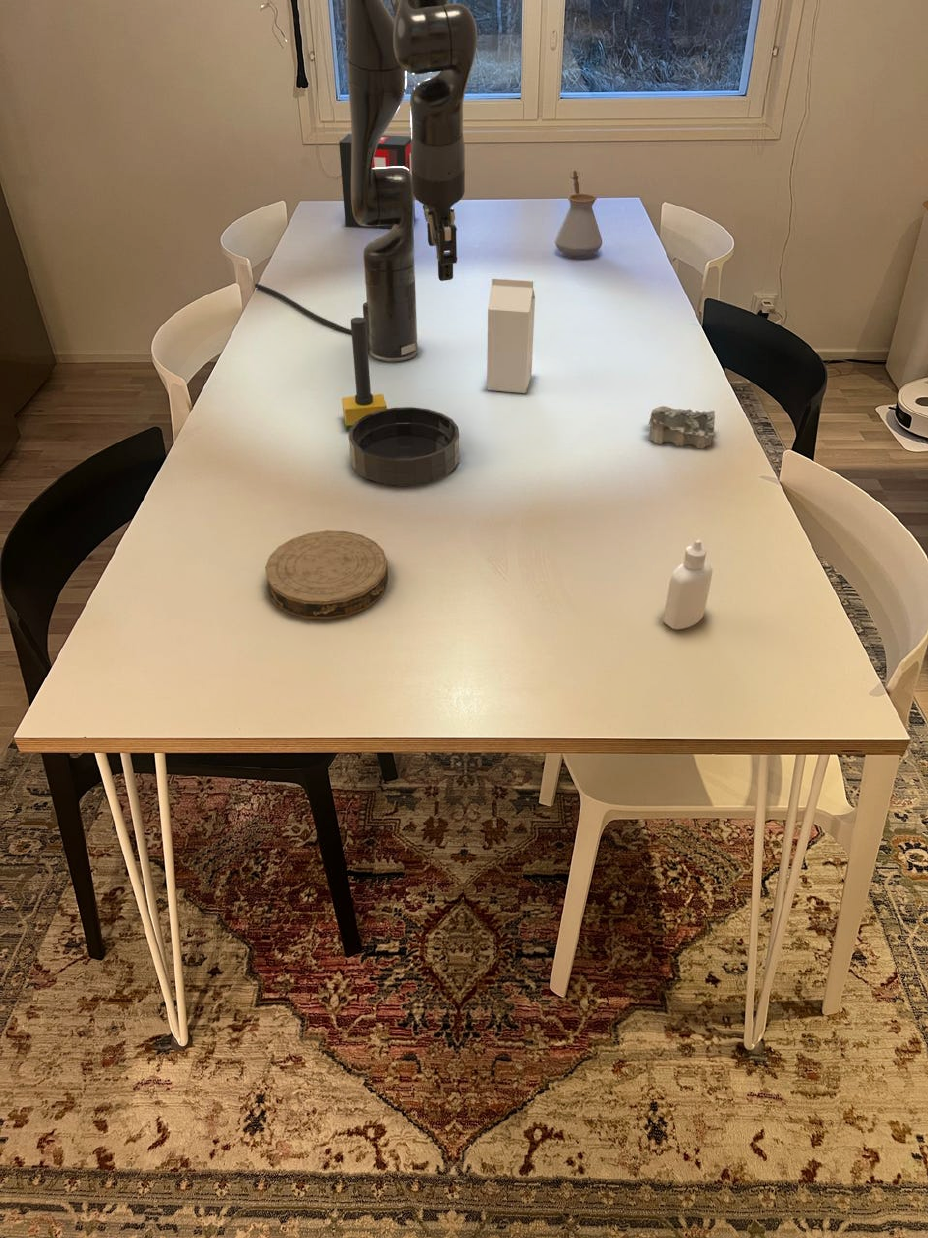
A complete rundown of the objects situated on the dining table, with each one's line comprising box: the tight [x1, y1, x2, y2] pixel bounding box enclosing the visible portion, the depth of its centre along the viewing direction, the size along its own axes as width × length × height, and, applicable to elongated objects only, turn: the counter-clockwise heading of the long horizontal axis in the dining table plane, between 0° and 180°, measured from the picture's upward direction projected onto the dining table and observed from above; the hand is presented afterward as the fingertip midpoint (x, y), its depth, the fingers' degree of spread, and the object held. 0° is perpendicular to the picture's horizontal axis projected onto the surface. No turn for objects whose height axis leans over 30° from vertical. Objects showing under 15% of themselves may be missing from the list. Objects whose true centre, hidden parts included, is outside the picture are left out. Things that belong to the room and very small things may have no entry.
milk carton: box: [486, 277, 536, 394], centre depth 166 cm, size 7×7×19 cm
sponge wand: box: [341, 316, 388, 432], centre depth 155 cm, size 7×4×18 cm, turn 101°
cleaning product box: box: [338, 133, 416, 230], centre depth 240 cm, size 16×9×20 cm, turn 80°
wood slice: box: [264, 530, 389, 621], centre depth 125 cm, size 16×16×3 cm
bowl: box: [348, 406, 460, 487], centre depth 149 cm, size 17×17×5 cm
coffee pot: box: [554, 170, 603, 260], centre depth 227 cm, size 21×12×15 cm, turn 1°
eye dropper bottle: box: [662, 538, 713, 631], centre depth 116 cm, size 4×6×12 cm
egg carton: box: [647, 406, 716, 449], centre depth 155 cm, size 11×8×4 cm
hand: (440, 261), depth 146 cm, fingers open, 8 cm apart
